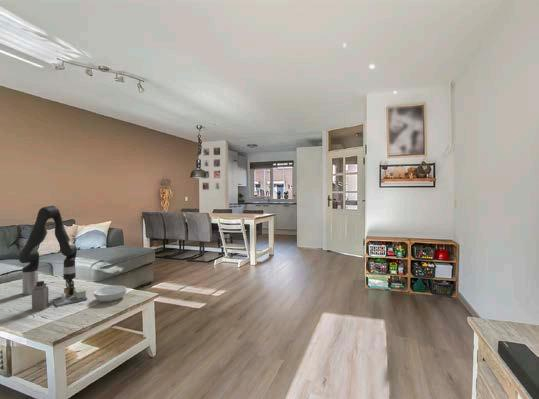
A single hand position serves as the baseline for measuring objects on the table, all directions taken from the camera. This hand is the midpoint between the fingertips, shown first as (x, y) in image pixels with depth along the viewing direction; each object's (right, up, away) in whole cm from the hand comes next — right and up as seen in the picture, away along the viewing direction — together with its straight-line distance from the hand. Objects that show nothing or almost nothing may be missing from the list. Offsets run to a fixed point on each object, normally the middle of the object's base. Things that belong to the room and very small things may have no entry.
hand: (69, 293), depth 207 cm
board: (+7, -2, -9) cm, 11 cm away
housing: (+11, -1, -4) cm, 11 cm away
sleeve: (0, -2, 0) cm, 2 cm away
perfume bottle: (-4, -3, -21) cm, 22 cm away
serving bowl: (+33, -3, -4) cm, 34 cm away
